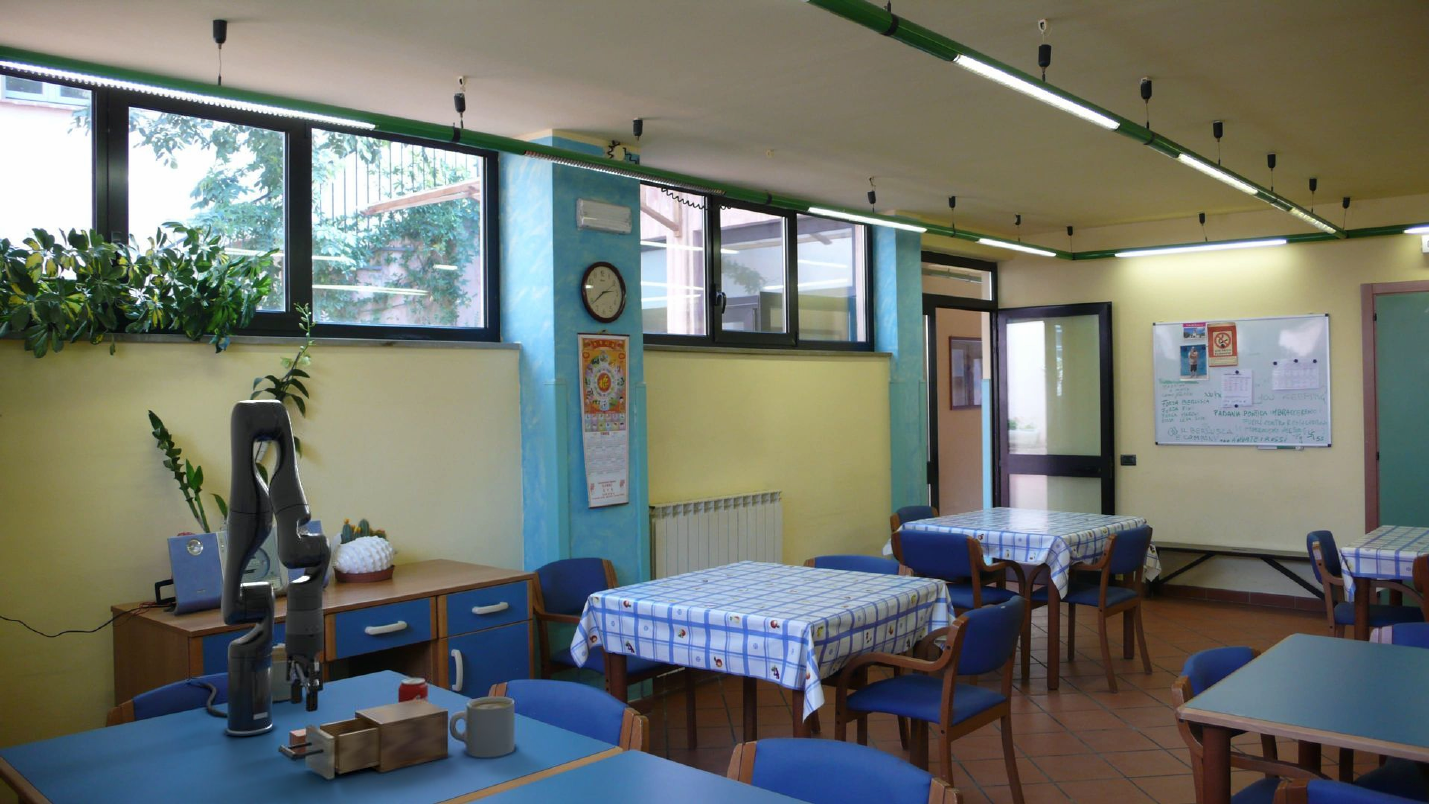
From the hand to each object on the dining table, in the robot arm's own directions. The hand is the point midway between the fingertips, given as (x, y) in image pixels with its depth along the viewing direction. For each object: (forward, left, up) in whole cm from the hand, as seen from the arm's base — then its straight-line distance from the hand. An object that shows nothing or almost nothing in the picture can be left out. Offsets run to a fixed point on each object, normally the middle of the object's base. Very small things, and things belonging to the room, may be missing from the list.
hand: (304, 707), depth 219 cm
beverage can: (+3, +23, -10) cm, 25 cm away
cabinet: (+16, +14, -10) cm, 23 cm away
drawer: (+16, 0, -9) cm, 18 cm away
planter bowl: (-49, +12, -10) cm, 52 cm away
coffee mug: (+23, +29, -10) cm, 38 cm away
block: (0, 0, -10) cm, 10 cm away
